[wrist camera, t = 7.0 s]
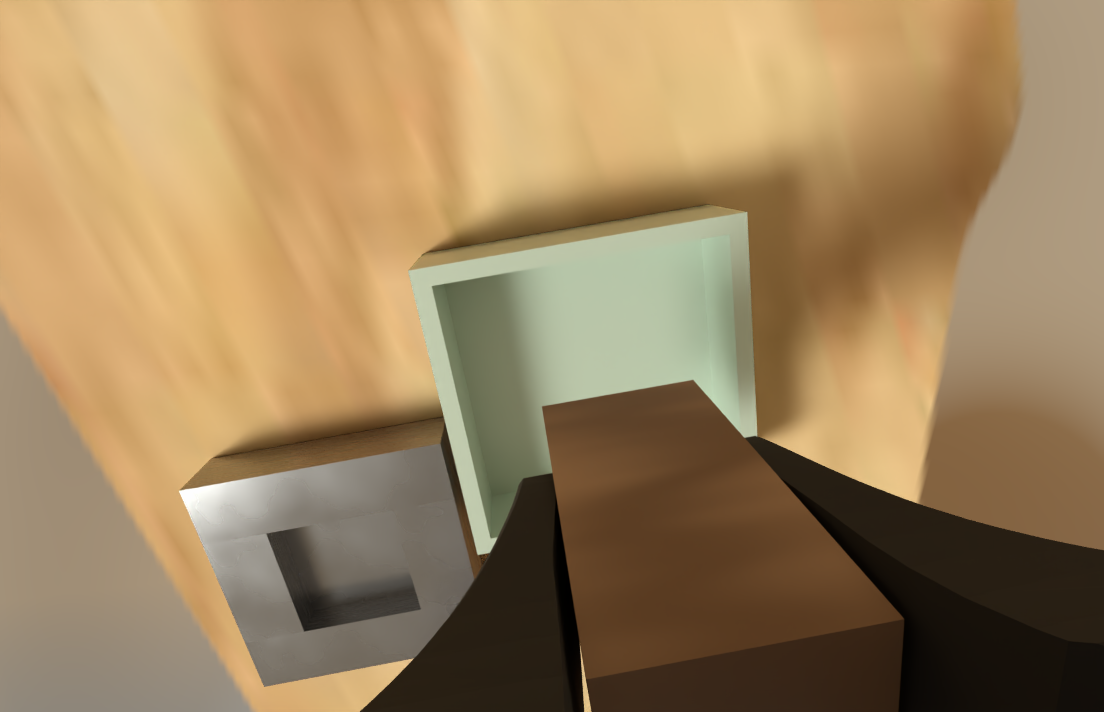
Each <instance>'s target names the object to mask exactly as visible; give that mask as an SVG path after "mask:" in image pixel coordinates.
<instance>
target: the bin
mask: <svg viewBox="0 0 1104 712" xmlns="http://www.w3.org/2000/svg"><path fill="white" fill-rule="evenodd" d="M408 272H409V277H410V281H411V285H412V289H413V293H414V297H415V301H416V305H417V309H418V313H419V317H420V321H421V326H422V330H423V334H424V338H425V342H426V346H427V350H428V354H429V358H430V362H431V366H432V370H433V375H434V379H435V383H436V387H437V391H438V395H439V399H440V403H441V407H442V411H443V415H444V419H445V424H446V428H447V432H448V436H449V440H450V444H451V448H452V452H453V456H454V460H455V464H456V468H457V473H458V477H459V481H460V485H461V489H462V493H463V497H464V501H465V505H466V509H467V513H468V517H469V522H470V526H471V530H472V534H473V538H474V542H475V546H476V550H477V554H478V555H480V554H486V553H490V551H491V550H492V548H493V546H494V544H495V542H496V540H497V538H498V536H499V533H500V531H501V529H502V527H503V525H504V523H505V521H506V519H507V516H508V514H509V511H510V509H511V506H512V504H513V501H514V498H515V496H516V492H517V489H518V485H519V483H520V482H521V481H522V479H523V478H528V477H533V476H538V475H544V474H549V473H552V467H551V460H550V454H549V448H548V442H547V436H546V430H545V423H544V417H543V411H542V406H547V405H553V404H558V403H564V402H570V401H575V400H581V399H587V398H592V397H598V396H604V395H610V394H615V393H621V392H627V391H632V390H638V389H644V388H649V387H655V386H661V385H667V384H672V383H678V382H684V381H689V380H694V381H695V382H696V383H697V385H698V386H699V387H700V388H701V389H702V390H703V391H704V392H705V394H706V395H707V396H708V397H709V398H710V399H711V400H712V402H713V403H714V404H715V405H716V406H717V407H718V408H719V409H720V411H721V412H722V413H723V414H724V415H725V416H726V417H727V419H728V420H729V421H730V422H731V423H732V424H733V425H734V426H735V428H736V429H737V430H738V431H739V432H740V433H741V434H742V436H743V437H744V438H746V437H751V436H757V418H756V396H755V373H754V351H753V329H752V307H751V284H750V262H749V240H748V218H747V212H745V211H740V210H735V209H730V208H724V207H719V206H714V205H709V204H708V205H702V206H696V207H690V208H685V209H679V210H673V211H667V212H661V213H656V214H650V215H644V216H638V217H632V218H627V219H621V220H615V221H609V222H603V223H598V224H592V225H586V226H580V227H574V228H569V229H563V230H557V231H551V232H545V233H540V234H534V235H528V236H522V237H517V238H511V239H505V240H499V241H493V242H488V243H482V244H476V245H470V246H464V247H459V248H453V249H447V250H441V251H435V252H430V253H424V254H423V255H422V256H421V257H420V258H419V259H418V260H417V261H416V262H415V263H414V265H413V266H412V267H411V268H410V269H409V270H408Z"/></svg>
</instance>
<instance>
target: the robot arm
mask: <svg viewBox="0 0 1104 712" xmlns="http://www.w3.org/2000/svg"><path fill="white" fill-rule="evenodd" d="M745 439H746V440H747V441H748V442H749V443H750V445H751V446H752V447H753V448H754V449H755V450H756V451H757V453H758V454H759V455H760V456H761V457H762V458H763V459H764V460H765V462H766V463H767V464H768V465H769V466H770V467H771V468H772V470H773V471H774V472H775V473H776V474H777V475H778V476H779V478H780V479H781V480H782V481H783V482H784V483H785V484H786V485H787V487H788V488H789V489H790V490H791V491H792V492H793V493H794V495H795V496H796V497H797V498H798V499H799V500H800V501H801V502H802V504H803V505H804V506H805V507H806V508H807V509H808V510H809V512H810V513H811V514H812V515H813V516H814V517H815V518H816V519H817V521H818V522H819V523H820V524H821V525H822V526H823V527H824V529H825V530H826V531H827V532H828V533H829V534H830V535H831V536H832V538H833V539H834V540H835V541H836V542H837V543H838V544H839V546H840V547H841V548H842V549H843V550H844V551H845V552H846V553H847V555H848V556H849V557H850V558H851V559H852V560H853V561H854V563H855V564H856V565H857V566H858V567H859V568H860V569H861V570H862V572H863V573H864V574H865V575H866V576H867V577H868V578H869V580H870V581H871V582H872V583H873V584H874V585H875V586H876V587H877V589H878V590H879V591H880V592H881V593H882V594H883V595H884V597H885V598H886V599H887V600H888V601H889V602H890V603H891V604H892V606H893V607H894V608H895V609H896V610H897V611H898V612H899V614H900V615H901V616H902V617H903V618H904V633H903V648H902V663H901V678H900V694H899V709H898V712H1104V550H1098V549H1093V548H1087V547H1082V546H1077V545H1072V544H1067V543H1063V542H1057V541H1053V540H1048V539H1044V538H1039V537H1035V536H1031V535H1027V534H1023V533H1019V532H1015V531H1010V530H1006V529H1002V528H998V527H994V526H990V525H986V524H983V523H979V522H976V521H972V520H968V519H964V518H962V517H958V516H955V515H952V514H949V513H945V512H942V511H939V510H936V509H933V508H929V507H926V506H923V505H920V504H917V503H914V502H912V501H909V500H906V499H903V498H900V497H898V496H895V495H893V494H890V493H887V492H885V491H882V490H880V489H877V488H874V487H872V486H869V485H867V484H864V483H862V482H859V481H857V480H855V479H852V478H850V477H847V476H845V475H843V474H841V473H838V472H836V471H834V470H831V469H829V468H827V467H825V466H822V465H820V464H818V463H816V462H814V461H812V460H809V459H807V458H805V457H803V456H801V455H799V454H796V453H794V452H792V451H790V450H788V449H786V448H783V447H781V446H779V445H777V444H775V443H772V442H770V441H768V440H765V439H763V438H760V437H757V436H751V437H746V438H745ZM360 712H584V701H583V685H582V670H581V654H580V640H579V633H578V627H577V621H576V615H575V609H574V603H573V596H572V590H571V584H570V578H569V572H568V566H567V559H566V553H565V547H564V541H563V535H562V528H561V522H560V516H559V510H558V504H557V498H556V491H555V485H554V479H553V473H549V474H544V475H538V476H533V477H528V478H523V479H522V481H521V482H520V483H519V485H518V489H517V492H516V496H515V498H514V501H513V504H512V506H511V509H510V511H509V514H508V516H507V519H506V521H505V523H504V525H503V527H502V529H501V531H500V533H499V536H498V538H497V540H496V542H495V544H494V546H493V548H492V550H491V551H490V553H489V555H488V557H487V558H486V560H485V562H484V564H483V565H482V567H481V569H480V571H479V573H478V574H477V576H476V578H475V579H474V581H473V582H472V584H471V586H470V587H469V589H468V590H467V592H466V593H465V595H464V596H463V598H462V599H461V601H460V602H459V603H458V605H457V606H456V608H455V609H454V610H453V612H452V613H451V614H450V616H449V617H448V619H447V620H446V621H445V622H444V624H443V625H442V626H441V627H440V629H439V630H438V631H437V632H436V633H435V635H434V636H433V637H432V638H431V640H430V641H429V642H428V643H427V644H426V645H425V647H424V648H423V649H422V650H421V651H420V653H419V654H418V655H417V656H416V657H415V658H414V659H413V660H412V661H411V662H410V663H409V664H408V666H407V667H406V668H405V669H404V670H403V671H402V672H401V673H400V674H399V675H398V676H397V677H396V678H395V679H394V680H393V681H392V682H391V683H390V684H389V685H388V686H387V687H386V688H385V689H384V690H383V691H381V692H380V693H379V694H378V695H377V696H376V697H375V698H374V699H373V700H372V701H371V702H370V703H369V704H368V705H367V706H366V707H364V708H363V709H362V710H361V711H360Z"/></svg>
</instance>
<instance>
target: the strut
mask: <svg viewBox="0 0 1104 712" xmlns="http://www.w3.org/2000/svg"><path fill="white" fill-rule="evenodd" d="M542 411H543V417H544V423H545V430H546V436H547V442H548V448H549V454H550V460H551V467H552V473H553V479H554V485H555V491H556V498H557V504H558V510H559V516H560V522H561V528H562V535H563V541H564V547H565V553H566V559H567V566H568V572H569V578H570V584H571V590H572V596H573V603H574V609H575V615H576V621H577V627H578V633H579V640H580V646H581V652H582V658H583V664H584V671H585V677H586V683H587V688H588V694H589V700H590V705H591V711H592V712H898V709H899V694H900V678H901V663H902V648H903V633H904V618H903V617H902V616H901V615H900V614H899V612H898V611H897V610H896V609H895V608H894V607H893V606H892V604H891V603H890V602H889V601H888V600H887V599H886V598H885V597H884V595H883V594H882V593H881V592H880V591H879V590H878V589H877V587H876V586H875V585H874V584H873V583H872V582H871V581H870V580H869V578H868V577H867V576H866V575H865V574H864V573H863V572H862V570H861V569H860V568H859V567H858V566H857V565H856V564H855V563H854V561H853V560H852V559H851V558H850V557H849V556H848V555H847V553H846V552H845V551H844V550H843V549H842V548H841V547H840V546H839V544H838V543H837V542H836V541H835V540H834V539H833V538H832V536H831V535H830V534H829V533H828V532H827V531H826V530H825V529H824V527H823V526H822V525H821V524H820V523H819V522H818V521H817V519H816V518H815V517H814V516H813V515H812V514H811V513H810V512H809V510H808V509H807V508H806V507H805V506H804V505H803V504H802V502H801V501H800V500H799V499H798V498H797V497H796V496H795V495H794V493H793V492H792V491H791V490H790V489H789V488H788V487H787V485H786V484H785V483H784V482H783V481H782V480H781V479H780V478H779V476H778V475H777V474H776V473H775V472H774V471H773V470H772V468H771V467H770V466H769V465H768V464H767V463H766V462H765V460H764V459H763V458H762V457H761V456H760V455H759V454H758V453H757V451H756V450H755V449H754V448H753V447H752V446H751V445H750V443H749V442H748V441H747V440H746V439H745V438H744V437H743V436H742V434H741V433H740V432H739V431H738V430H737V429H736V428H735V426H734V425H733V424H732V423H731V422H730V421H729V420H728V419H727V417H726V416H725V415H724V414H723V413H722V412H721V411H720V409H719V408H718V407H717V406H716V405H715V404H714V403H713V402H712V400H711V399H710V398H709V397H708V396H707V395H706V394H705V392H704V391H703V390H702V389H701V388H700V387H699V386H698V385H697V383H696V382H695V381H694V380H689V381H684V382H678V383H672V384H667V385H661V386H655V387H649V388H644V389H638V390H632V391H627V392H621V393H615V394H610V395H604V396H598V397H592V398H587V399H581V400H575V401H570V402H564V403H558V404H553V405H547V406H542Z"/></svg>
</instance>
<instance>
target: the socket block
mask: <svg viewBox="0 0 1104 712" xmlns="http://www.w3.org/2000/svg"><path fill="white" fill-rule="evenodd" d="M179 492H180V494H181V496H182V499H183V501H184V503H185V506H186V508H187V510H188V513H189V515H190V517H191V519H192V522H193V524H194V526H195V529H196V531H197V533H198V536H199V538H200V540H201V542H202V545H203V547H204V549H205V552H206V554H207V556H208V559H209V561H210V563H211V565H212V568H213V570H214V572H215V575H216V577H217V579H218V582H219V584H220V586H221V588H222V591H223V593H224V595H225V598H226V600H227V602H228V605H229V607H230V609H231V611H232V614H233V616H234V618H235V621H236V623H237V625H238V628H239V630H240V632H241V634H242V637H243V639H244V641H245V644H246V646H247V648H248V651H249V653H250V655H251V657H252V660H253V662H254V664H255V667H256V669H257V671H258V673H259V676H260V678H261V680H262V683H263V685H264V687H266V686H271V685H276V684H281V683H287V682H292V681H297V680H302V679H308V678H313V677H318V676H323V675H329V674H334V673H339V672H344V671H350V670H355V669H360V668H365V667H370V666H376V665H381V664H386V663H391V662H397V661H402V660H407V659H412V658H415V657H416V656H417V655H418V654H419V653H420V651H421V650H422V649H423V648H424V647H425V645H426V644H427V643H428V642H429V641H430V640H431V638H432V637H433V636H434V635H435V633H436V632H437V631H438V630H439V629H440V627H441V626H442V625H443V624H444V622H445V621H446V620H447V619H448V617H449V616H450V614H451V613H452V612H453V610H454V609H455V608H456V606H457V605H458V603H459V602H460V601H461V599H462V598H463V596H464V595H465V593H466V592H467V590H468V589H469V587H470V586H471V584H472V582H473V581H474V579H475V578H476V576H477V574H478V573H479V571H480V569H481V567H482V561H481V557H480V555H478V554H477V550H476V546H475V542H474V538H473V534H472V530H471V526H470V522H469V517H468V513H467V509H466V505H465V501H464V497H463V493H462V489H461V485H460V481H459V477H458V473H457V468H456V464H455V460H454V456H453V452H452V448H451V444H450V440H449V436H448V432H447V428H446V424H445V419H444V417H440V418H434V419H429V420H423V421H418V422H412V423H407V424H401V425H396V426H390V427H385V428H379V429H373V430H368V431H362V432H357V433H351V434H346V435H340V436H335V437H329V438H323V439H318V440H312V441H307V442H301V443H296V444H290V445H285V446H279V447H274V448H268V449H262V450H257V451H251V452H246V453H240V454H235V455H229V456H224V457H218V458H212V459H210V460H209V461H208V462H207V463H206V464H205V465H204V466H203V467H202V468H201V469H200V470H199V471H198V472H197V473H196V474H195V475H194V476H193V477H192V478H191V479H190V480H189V481H188V482H187V483H186V484H185V486H184V487H183V488H182V489H181V490H180V491H179Z"/></svg>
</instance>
